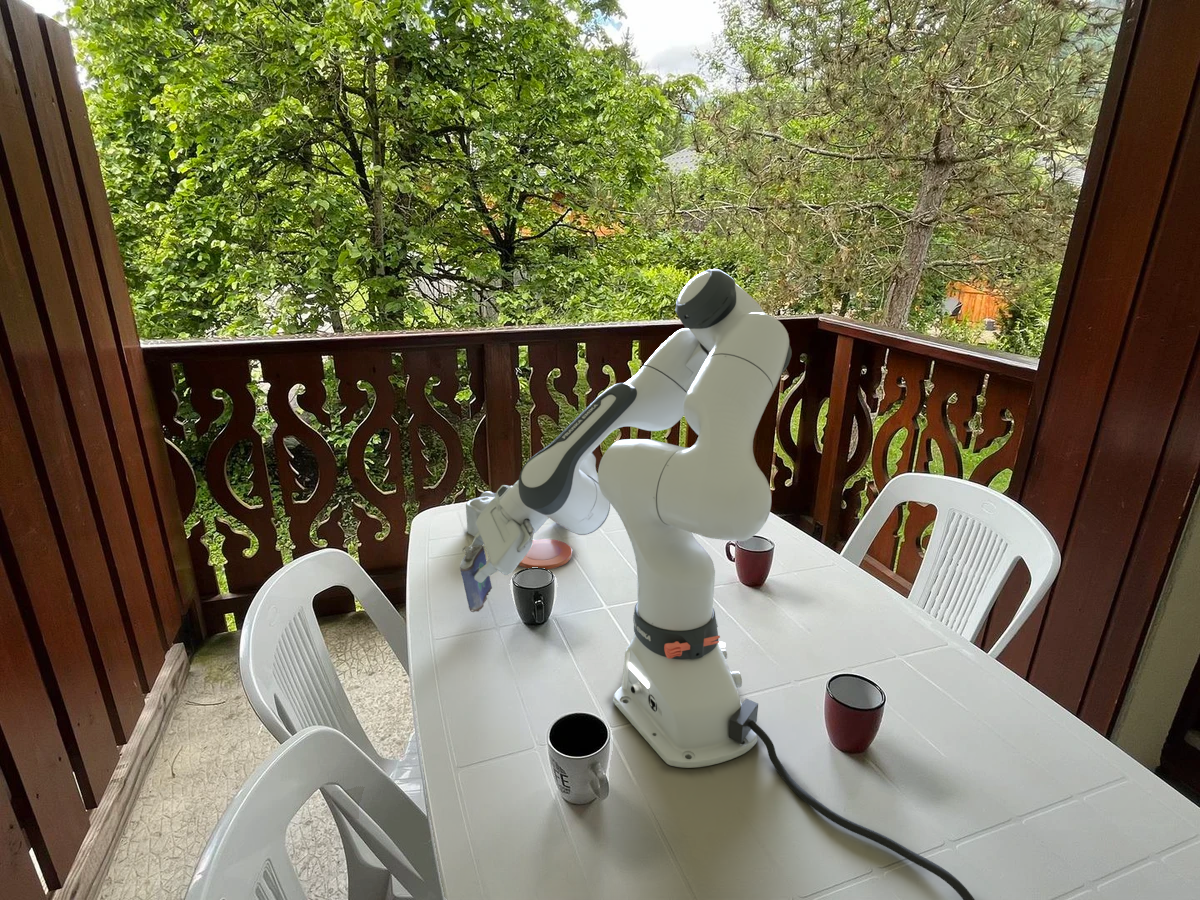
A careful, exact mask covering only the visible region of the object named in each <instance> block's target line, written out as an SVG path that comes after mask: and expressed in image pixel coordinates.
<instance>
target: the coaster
mask: <svg viewBox="0 0 1200 900" xmlns="http://www.w3.org/2000/svg"><path fill="white" fill-rule="evenodd" d="M572 557H573V549H572V548H571V546H570V545H569V544H568V543H566V542H565V541H562V540H559V539H553V538H537V539H533V540H532V546H531V548H530V550H529V551H528V553H527V554H526V555H525V557H524V558H523V559H522V561H521V562H520V563H519V565H518V566H519V567H522V568H524V569H528V568H532V567H538V568H545V569H546V570H552V569H556V568H559V567H562V566H564V565H566V564H567V563H568V562H570V560H571V559H572Z"/></svg>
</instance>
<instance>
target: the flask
mask: <svg viewBox="0 0 1200 900" xmlns="http://www.w3.org/2000/svg"><path fill="white" fill-rule="evenodd" d="M462 551H464V552H465V553H464V556H463V558H462V560H461V562H460V565H459V570H460V575H461V579H462V583H463V587H464V591H465V596H466V601H467V604H468V609H469V611H470V613H475V612H480V610H482V609H483V608H484V604H485V603H486V601H487V599H488V596H489V593H490V592H491V590H492V589H493V584H492V582H491V577H490V576H491V575H490V576H488V577H487V578H486V579H485V580H484V581H483V582H482V583H479V582H478V581H476V580H475V578H474V575H473V574H474V572H475V571H476V570H477V569H478V568H482V567H483V566H484V565H486V562H487V557H486V550H485V546H484V545H483V546H482V545H475V546H473V547H472V548H471V547H470V545H468V546H464V547H463V548H462Z"/></svg>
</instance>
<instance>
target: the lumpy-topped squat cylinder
mask: <svg viewBox="0 0 1200 900" xmlns="http://www.w3.org/2000/svg"><path fill="white" fill-rule="evenodd" d="M496 496H498V495H497V492H492V491H489V490H488V491H487V490H486V491H483V492H482V493H481V494H480V496H479V497H475V498H472V499H469V500H468V501H467V502H466V503H465V513H466V516H465V517H466V530H467V533H468V534H469V535H471V536H473V537H475V536H476V534H477V533H478V532H479V531H478V528H477V525H476V521H477V519H478V517H479V515H480V514H481V512H482V511H483V510H484V509H485V507H486V506H487V505H488V504H489V503H490V501H491V500H492V499H493V498H494V497H496Z"/></svg>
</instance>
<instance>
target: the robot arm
mask: <svg viewBox="0 0 1200 900" xmlns="http://www.w3.org/2000/svg"><path fill="white" fill-rule="evenodd" d="M675 313H676V315H677V317H678V319H679V321H680V322H681V323H682V325H683V326H684V328H680V329H678V330H676V331H675V332H674V333H673V334H672V335H670V336H669V337H668V338H667V339H666V340H665V341H664V342H662V343H661V344H660V345H659V347H658V348H657V349H656V350H655V351H654V352H653V353H652V354H651V355H650V357H649V358H648V359H647V360H646V361H645V362H644V364H643V365H642V367H641V368H640V369H639V370H638V371H637V372H636V373H635V374H634V375H633V376H632V377H631V378H629V379H628V380H626V381H625V382H619V383H615V384H613V385H611V386H610V387H608V388H607V389H605V390H604V391H603V392H602V393H600V394H599V395H598V396H597V397H596V398H595V399H594V400H593V401H592V402H591V403H590V404H588V406H587V407H586V408H585V409H584V410H583V411H581V413H580V414H578V415H577V416H576V417H575V419H573V420H572V421H571V422H570V424H568V425H567V427H566V428H565V429H563V430H562V431H561V432H560V434H558V435H557V436H556V438H554V439H553V441H551V442H550V443H549V444H548V445H547V446H545V447H543V448H542V449H541V450H539V451H538V452H537V453H535V454H534V455H533V456H532V457H529V459H528V460H527V461H526V462H525V464H524V465H523V466H522V468H521V471H520V473H519V475H518V480H516V482H515V483H514V484H513V485H507V484H502V485H501V486H500V487H499V488H498V489H497V490H496V493H497V495H498V496H496V497H494V498H493V499H492V500H491V501H490V503H489V504H488V505H487V506H486V507H485V509H484V510H483V511H482V512H481V514H480V515H479V517H478V519H477V521H476V525H477V528H478V531H479V532H478V533H477V534H476V536H474V537H473V540H472V542H471V544H470V545H469V547H471V548H472V547H473V546H475V545H482V546H483V547H484V549H485V552H486V554H487V557H488V559H486V561H487V562H486V565H484V566H483V567H482V568H478V569H477V570H476V571H475V572H474V574H473V575H474V578H475V580H476V581H478V582H479V583H482V582H483V581H484V580H485V579H486V578H487V577H488V576H491V575H494V574H496V573H497V572H499V573H501V574H502V575H504V576H508V575H510V574H512V573H513V572H514V571H515V569H517V568H518V566H519V563H520V562H521V561H522V559H523V558H524V557H525V555H526V554H527V553H528V551H529V550H530V548H531V546H532V540H534V534H536V533H537V532H538V531H539V530H540V528H542V526H543V525H544V524H545V523H546V522H547V521H548V519H550V520H551V521H553V522H554V523H556V524H557V525H558V526H561V527H563V528H564V529H565V530H567V531H569V532H571V533H574V534H575V535H578V536H587V535H590V534H593V533H594V532H595V531H597V530H598V529H600V528H601V527H602V526H603V525H604V524H605V522H606V520H607V519H608V517H609V514H610V510H611V506H612V508H613V509H614V510H615V512H616V513H617V515H618V516H619V519H620V520H621V522H622V525H623V526H624V528H625V531H626V534H627V535H628V538H629V541H630V544H631V546H632V550H633V554H634V558H635V564H636V565H635V566H636V587H637V588H636V589H637V601H636V603H635V605H634V611H633V615H632V616H633V617H632V621H633V633H634V635H633V637H632V639H631V640H630V643H629V644H628V645H627V647H626V650H625V652H624V660H623V667H622V668H623V669H622V679H621V686H620V687H618V689H617V690H616V691H615V692H614V694H613V700H612V701H613V704H614V705H615V706H616V707H617V709H618V710H619V711H620V712H621V713H622V715H623V716H624V717H625V718H626V719H627V721H629V723H630V724H631V725H632V726H633V727H634V729H635V730H636V731H637V732H638V733H639V734H640V735H641V736H642V737H643V739H644V740H645V741H646V742H647V744H649V746H650V747H651V748H652V749H653V750H654V752H656V754H657V755H658V756H659V757H660V758H661V760H663V762H665V764H667V765H668V766H670V767H671V766H672V767H676V768H687V769H688V768H690V769H692V768H694V769H695V768H703V767H709V766H713V765H717V764H721V763H724V762H727V761H731V760H733V759H735V758H738V757H741V756H743V755H744V754H746V753H747V752H749V751H750V750H751V749H753V747H754V746H755V745H756V744H757V742H758V737H759V738H760V740H761V741H762V742H763V744H764V746H765V747H766V750H767V754H768V757H769V760H770V762H771V764H772V766H773V767H774V768H775V770H776V772H777V773H778V774H779V776H780V777H781V779H782V780H783V781H784V782H785V783H786V784H787V786H788V787H789V788H790V789H791V790H792V792H793V793H795V794H796V795H797V797H799V798H800V799H801V800H802V801H804V802H805V803H806V804H807V805H809V806H810V807H812V809H814V810H816V811H817V813H819V814H821V815H822V816H824V817H825V818H826V819H828V820H830V821H831V822H833V823H835V824H836V825H838V826H840V827H842V828H843V829H846V830H848V831H850V832H852V833H855V834H857V835H860V836H861V837H864V838H866V839H868V840H871V841H873V842H876V843H878V844H880V845H881V846H883V847H886V848H888V849H889V850H891V851H893V852H894V853H896V854H898V855H900V856H901V857H903V858H905V859H906V860H908V861H910V862H912V863H913V864H915V865H917V866H919V867H921V868H923V869H925V870H926V871H928V872H930V873H932V874H933V875H935V876H937V877H938V878H940V879H941V880H942V881H944V882H945V883H946V884H948V885H949V886H950V887H951V888H952V889H953V890H954V891H955V892H956V893H957V894H958V896H960V898H961V899H962V900H976V899H975V897H974V896H973V895H972V894H971V892H970V891H969V890H968V888H966V886H965V885H964V884H963V883H962V882H961V881H960V880H959V879H958V878H957V877H956V876H954V875H953V874H952V873H951V872H949V871H948V870H946V869H945V868H944V867H942V866H940V865H939V864H937V863H935V862H933V861H932V860H930V859H928V858H926V857H924V856H922V855H920V854H918V853H916V852H915V851H913V850H911V849H909V848H908V847H905V846H904V845H903V844H900V843H899V842H897V841H895V840H893V839H891V838H890V837H888V836H886V835H883V834H881V833H880V832H877V831H875V830H872V829H870V828H868V827H866V826H863V825H862V824H860V823H856V822H854V821H852V820H849V819H847V818H846V817H844V816H841V815H840V814H838V813H836V812H835V811H833V810H831V809H830V808H829V807H827V806H826V805H824V804H823V803H822V802H820V801H818V800H817V799H816V798H815V797H813V795H811V794H810V793H808V792H807V791H806V790H805V789H803V788H802V787H801V786H800V785H799V784H798V783H797V781H795V780H794V779H793V777H792V776H791V775H790V773H789V772H788V771H787V770H786V768H785V767H784V766H783V763H782V762H781V761H780V759H779V758H778V756H777V752H776V748H775V745H774V743H773V741H772V740H771V738H770V736H769V735H768V734H767V733H766V732H765V730H763V729H762V727H760V726H759V724H758V723H757V721H758V712H759V703H758V702H756V701H753V700H751V699H748V698H745V699H744V700H743V702H742V701H741V695H740V693H739V691H738V689H740V688H742V686H743V679H742V676H741V675H742V674H741V673H740V671H738V670H735V671H731V669H730V667H729V664H728V662H727V660H726V659H728V652H727V649H725V648H726V642H724V641H719V639H721V636H720V635H719V631H718V630H719V629H718V627H719V626H718V620H717V617H716V616H717V615H716V611H715V608H714V599H715V598H714V597H715V596H714V595H715V580H716V579H715V578H716V568H715V564H714V561H713V559H712V557H711V554H710V553H709V552H708V551H707V549H705V547H704V546H703V545H702V544H701V543H700V542H699V541H698V539H697V538H696V537H695V535H698V536H701V537H704V538H707V539H711V540H721V541H731V542H746V541H748V540H749V539H751V538H753V537H754V536H755V535H756V534H758V533H759V532H760V531H761V529H762V528H763V527H764V526H765V524H766V522H767V520H768V518H769V516H770V513H771V509H772V491H771V486H770V484H769V481H768V479H767V477H766V476H765V474H764V472H763V471H762V470H761V468H760V467H759V466H758V463H757V462H756V458H755V455H754V438H755V434H756V431H757V429H758V426H759V423H760V422H761V420H762V416H763V414H764V412H765V410H766V407H767V405H768V403H769V402H770V399H771V397H772V396H773V394H774V391H775V389H776V387H777V386H778V383H779V381H780V378H781V375H782V374H783V373H784V372H785V371H786V370H787V368H788V366H789V364H790V361H791V358H792V355H793V354H792V353H793V351H792V347H791V345H790V337H789V333H788V331H787V329H786V327H785V326H784V324H783V323H782V322H781V321H780V320H778V319H777V318H776V317H774V316H772V315H769V314H768V313H766V312H765V311H764V309H762V306H761V305H760V304H759V303H758V302H757V301H756V299H754V298H753V297H752V296H751V295H750V294H749V293H748V292H747V291H746V290H745V289H743V288H742V287H741V286H739V285H738V284H737V283H736V280H735V279H734V278H733V277H732V276H730V275H729V274H727V273H726V272H724V271H723V270H721V269H718V268H713V269H711V268H710V269H706V270H703V271H701V272H700V273H698V274H697V275H696V276H694V277H693V278H691V279H689V281H688V282H687V283H686V284H685V286H684V287H683V289H682V290H681V292H680V293H679V294H678V296H677V299H676V303H675ZM683 417H684V418H685V421H686V423H687V425H689V427H690V428H691V429H692V431H694V433H695V434H696V435H697V436H698V437H697V438H696V441H695V443H694V444H693V445H692V446H691V447H684V446H680V445H675V444H672V443H667V442H663V441H660V440H655V439H650V438H649V439H648V438H626V439H625V438H624V439H623V438H622V439H619V440H616V441H614V442H613V443H612V444H611V445H610V446H609V447H608V448H607V449H606V451H605V452H604V454H603V455H602V457H601V459H600V462H599V465H598V470H597V467H596V466H597V465H596V464H597V458H596V456H595V454H594V453H593V452H594V451H595V450H596V448H598V447H599V446H600V445H601V444H602V443H603V441H605V440H606V439H607V437H608V436H609V435H610V434H612V433H613V432H614V431H616V430H618V429H621V428H623V427H632V428H636V429H640V430H643V431H648V432H660V431H664V430H668V429H671V428H672V427H674V426H675V425H676V424H677V423H679V422H680V421H681V419H682V418H683ZM694 534H695V535H694ZM722 648H724V649H722Z"/></svg>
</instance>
